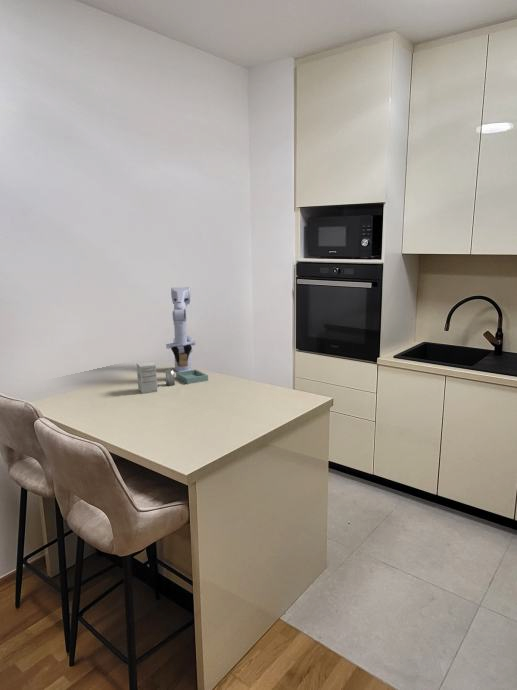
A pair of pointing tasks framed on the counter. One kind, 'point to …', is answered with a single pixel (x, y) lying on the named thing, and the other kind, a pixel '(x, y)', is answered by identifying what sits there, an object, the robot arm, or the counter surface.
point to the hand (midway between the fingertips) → (181, 361)
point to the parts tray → (191, 376)
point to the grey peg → (170, 377)
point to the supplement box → (147, 377)
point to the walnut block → (182, 360)
